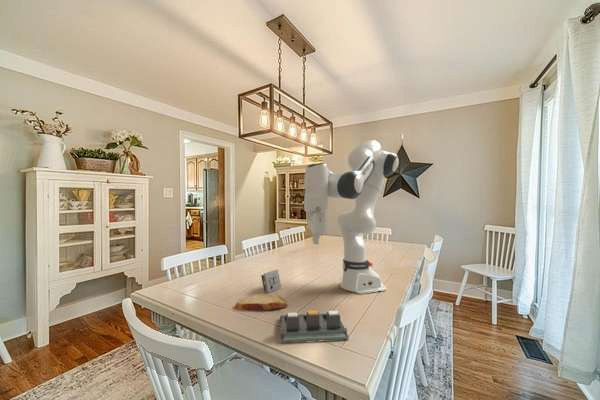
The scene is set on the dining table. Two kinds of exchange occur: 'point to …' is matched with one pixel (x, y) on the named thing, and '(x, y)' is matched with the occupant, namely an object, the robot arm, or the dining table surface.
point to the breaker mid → (312, 320)
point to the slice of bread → (261, 303)
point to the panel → (311, 331)
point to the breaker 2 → (333, 320)
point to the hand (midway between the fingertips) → (315, 243)
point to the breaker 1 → (292, 322)
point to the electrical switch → (271, 281)
